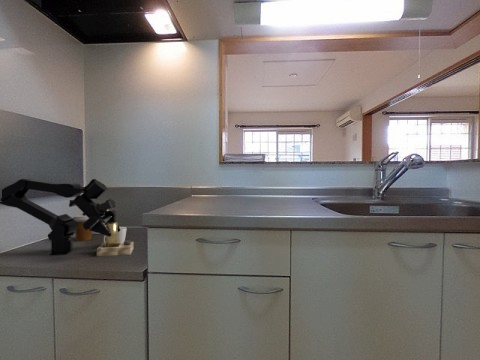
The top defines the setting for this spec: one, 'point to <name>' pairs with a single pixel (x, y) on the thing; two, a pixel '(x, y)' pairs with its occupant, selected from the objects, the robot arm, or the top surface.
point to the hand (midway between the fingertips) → (115, 233)
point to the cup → (120, 234)
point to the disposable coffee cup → (82, 229)
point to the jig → (116, 249)
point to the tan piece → (113, 229)
